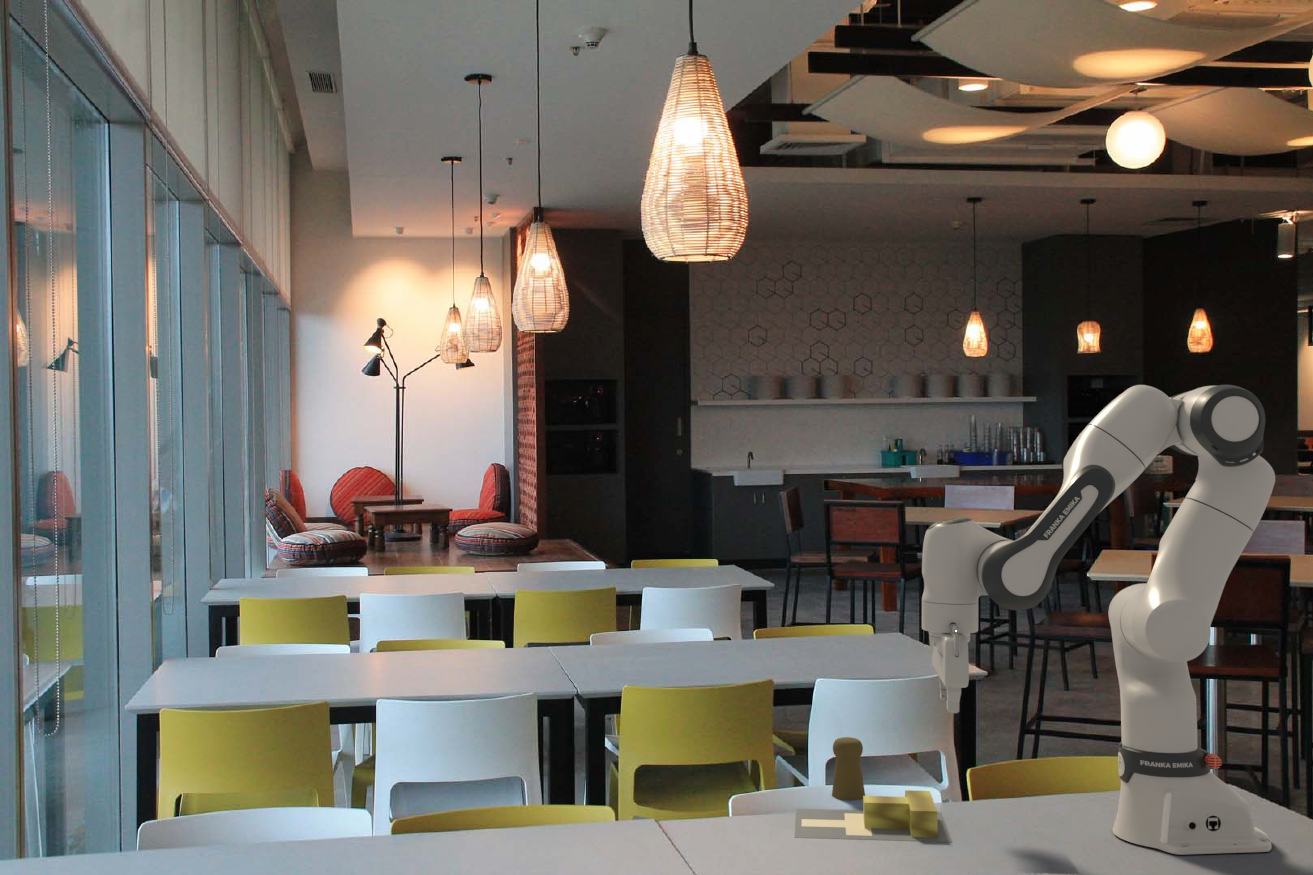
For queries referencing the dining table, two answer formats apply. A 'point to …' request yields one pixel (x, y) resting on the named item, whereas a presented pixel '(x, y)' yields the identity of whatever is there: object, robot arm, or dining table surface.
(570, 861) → the dining table surface
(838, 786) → the cork
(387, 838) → the dining table surface
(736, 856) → the dining table surface
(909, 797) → the t block
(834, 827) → the board
